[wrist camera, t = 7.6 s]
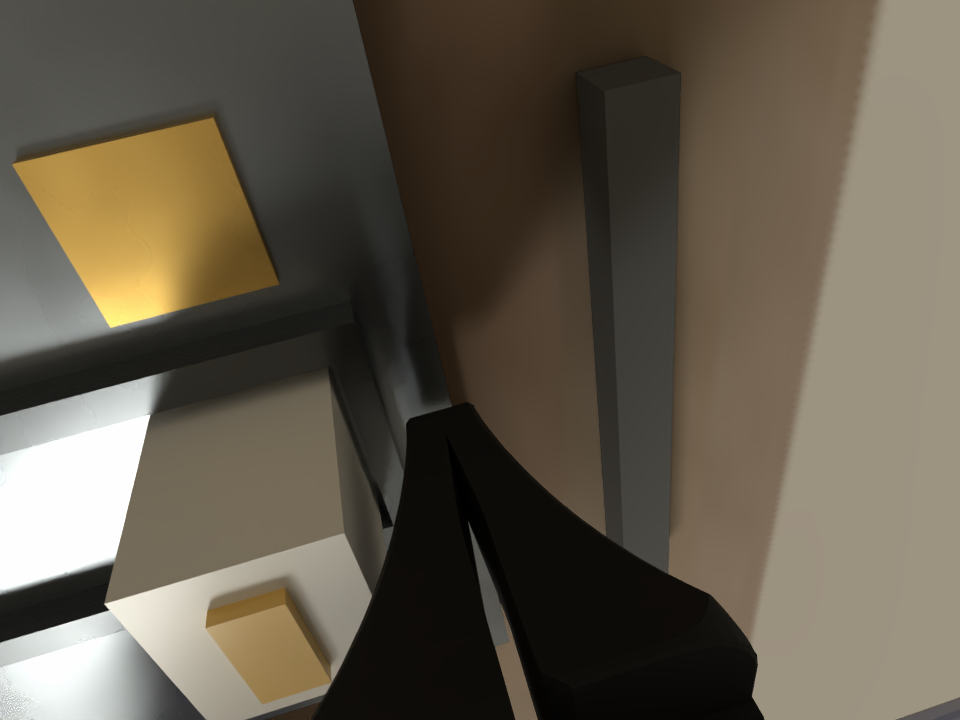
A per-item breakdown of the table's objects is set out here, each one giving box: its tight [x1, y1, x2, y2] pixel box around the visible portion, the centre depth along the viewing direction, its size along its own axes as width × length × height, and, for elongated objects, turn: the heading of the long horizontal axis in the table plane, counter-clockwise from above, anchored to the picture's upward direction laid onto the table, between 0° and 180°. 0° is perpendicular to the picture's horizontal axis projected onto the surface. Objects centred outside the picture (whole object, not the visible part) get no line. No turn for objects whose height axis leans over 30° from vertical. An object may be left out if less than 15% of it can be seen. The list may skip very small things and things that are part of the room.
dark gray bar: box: [576, 56, 681, 574], centre depth 17 cm, size 16×1×1 cm, turn 9°
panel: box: [0, 0, 509, 720], centre depth 14 cm, size 20×16×2 cm
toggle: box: [104, 366, 386, 720], centre depth 13 cm, size 4×4×5 cm
